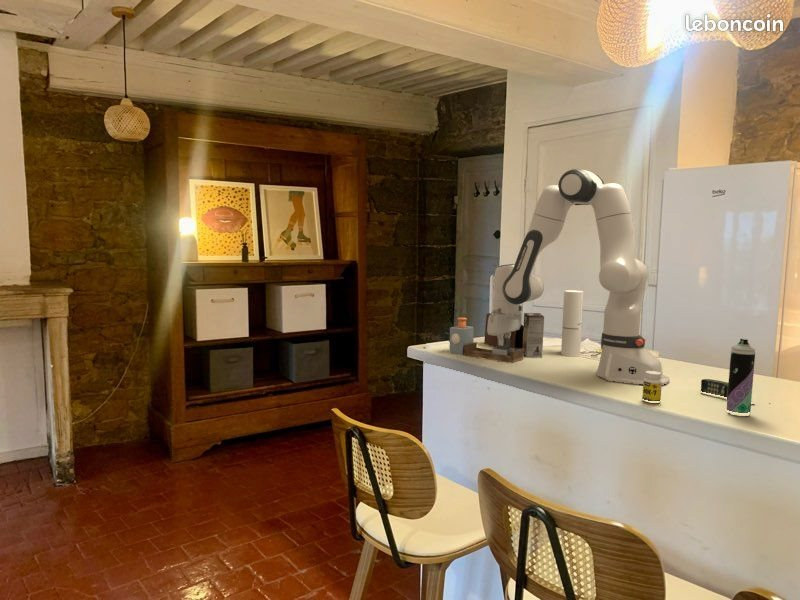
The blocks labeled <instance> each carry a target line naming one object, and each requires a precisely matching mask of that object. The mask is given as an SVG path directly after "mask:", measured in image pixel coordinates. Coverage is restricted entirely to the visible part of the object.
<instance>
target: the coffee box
mask: <svg viewBox="0 0 800 600" xmlns="http://www.w3.org/2000/svg"><path fill="white" fill-rule="evenodd" d="M544 325H545V315H543V314H541V313H540V312H524V313H523V356H525V358H532V359H533V358H536V359H538V358H540V359H542V358H543V352H544V351H543V350H544V349H543V347H544V345H543V344H544V329H545V328H544V327H545V326H544Z"/></svg>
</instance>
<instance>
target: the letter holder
mask: <svg viewBox="0 0 800 600" xmlns="http://www.w3.org/2000/svg"><path fill="white" fill-rule="evenodd" d="M491 313H492V312H489V313H486V314H485V315H486V316H485V325H484V341H483V343H484V344H485V345H487V346H491V347H492V346H493V347H494V348H496V347H497V336H493V335H488V333H487V326H488V318H489V316H490V314H491ZM523 326H524V324H521V327H520V329H519V330H516V331H512V332H511V336H510V338H511V339H510V348H515V350H519V349H523ZM503 337H505V334H504V336H503ZM515 350H514V351H515Z"/></svg>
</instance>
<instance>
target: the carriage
mask: <svg viewBox="0 0 800 600" xmlns="http://www.w3.org/2000/svg"><path fill="white" fill-rule="evenodd" d="M503 339H504V341H505V344H504V345H503V346H501V345H499V340H498V338H497V347H493V348H492V349H491V350H492V354H496V355H502V356H509V357H511V352H512V351H514V350H515V348H510V339H511V338H506V337H503Z"/></svg>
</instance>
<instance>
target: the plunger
mask: <svg viewBox="0 0 800 600" xmlns="http://www.w3.org/2000/svg"><path fill="white" fill-rule="evenodd" d="M457 320H458V321H457V323H458V324H457V326H458V328H466V326H467V320H468V318H467V317H457Z"/></svg>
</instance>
